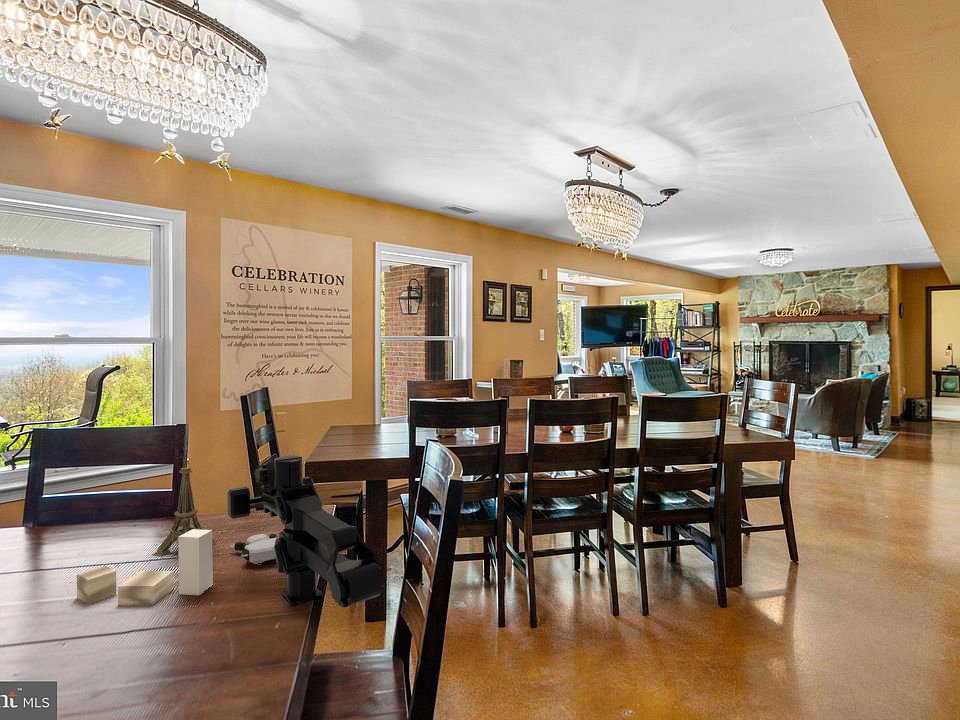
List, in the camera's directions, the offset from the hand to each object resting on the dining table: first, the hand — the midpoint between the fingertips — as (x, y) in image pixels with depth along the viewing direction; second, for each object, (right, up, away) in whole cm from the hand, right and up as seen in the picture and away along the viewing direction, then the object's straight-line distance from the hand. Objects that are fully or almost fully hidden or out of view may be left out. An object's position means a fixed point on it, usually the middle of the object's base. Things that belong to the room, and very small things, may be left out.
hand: (260, 490), depth 126 cm
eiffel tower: (-21, -17, +5) cm, 27 cm away
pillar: (-7, -17, -16) cm, 24 cm away
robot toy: (0, -17, +2) cm, 17 cm away
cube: (-26, -17, -19) cm, 36 cm away
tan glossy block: (-15, -17, -19) cm, 30 cm away
